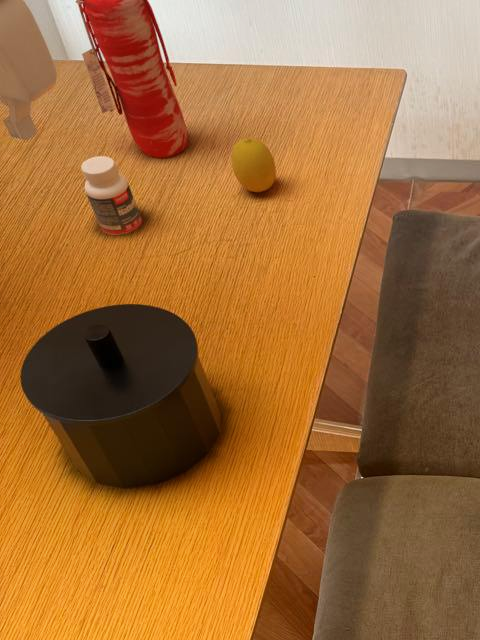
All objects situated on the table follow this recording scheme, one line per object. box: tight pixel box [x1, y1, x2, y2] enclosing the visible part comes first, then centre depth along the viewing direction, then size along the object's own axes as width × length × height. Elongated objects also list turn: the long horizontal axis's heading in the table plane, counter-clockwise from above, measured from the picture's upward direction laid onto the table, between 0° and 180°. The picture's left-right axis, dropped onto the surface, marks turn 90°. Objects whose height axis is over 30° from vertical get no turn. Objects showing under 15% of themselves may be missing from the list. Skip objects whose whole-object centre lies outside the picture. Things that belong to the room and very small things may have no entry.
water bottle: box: [75, 0, 188, 159], centre depth 119 cm, size 12×8×25 cm, turn 93°
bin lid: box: [20, 303, 199, 425], centre depth 87 cm, size 17×17×5 cm
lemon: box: [231, 136, 277, 193], centre depth 120 cm, size 6×6×8 cm
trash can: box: [42, 356, 221, 489], centre depth 93 cm, size 16×16×10 cm
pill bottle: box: [80, 155, 143, 236], centre depth 115 cm, size 5×5×9 cm
